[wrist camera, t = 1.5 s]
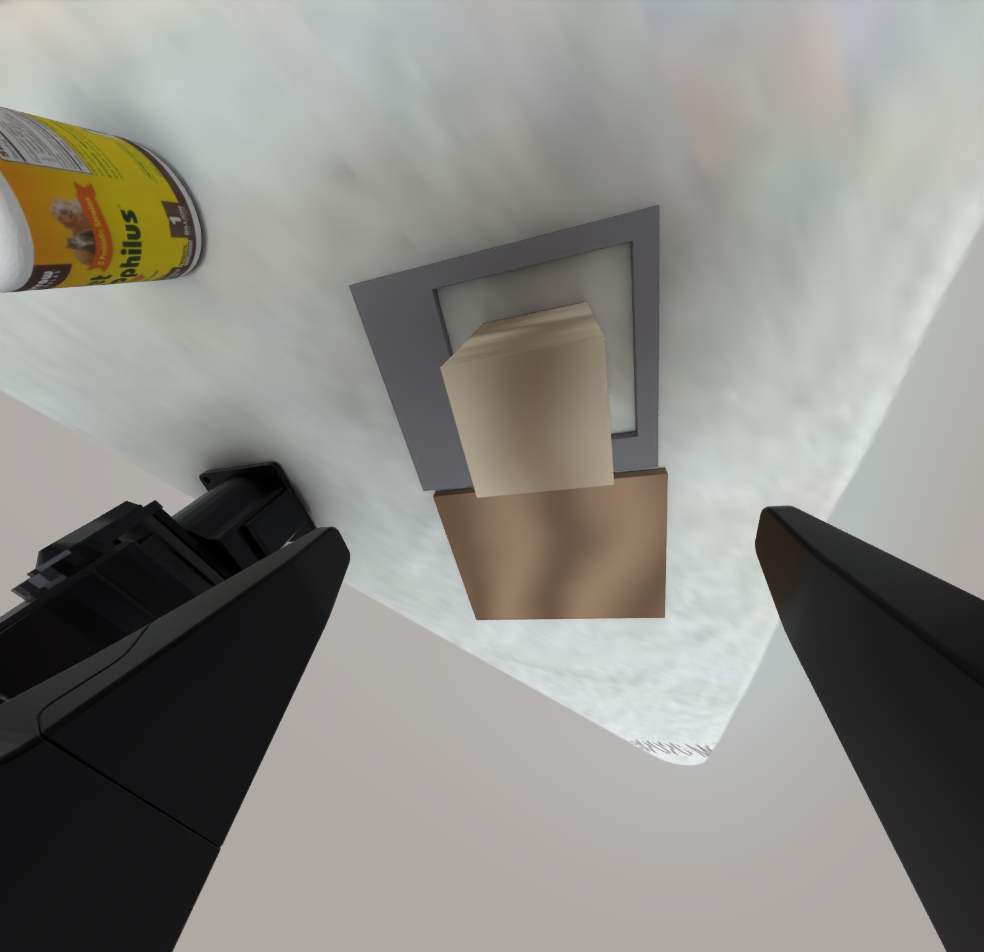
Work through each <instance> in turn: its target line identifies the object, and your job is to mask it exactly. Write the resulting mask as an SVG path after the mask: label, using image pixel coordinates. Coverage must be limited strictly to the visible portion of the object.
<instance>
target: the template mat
mask: <svg viewBox="0 0 984 952" xmlns="http://www.w3.org/2000/svg"><path fill="white" fill-rule="evenodd" d="M630 241H631V266H632V303H633V339H634V376H635V413H636V432H630V433H623V434H615V435H611V443H612V459H613V471H623V470H633V469H642V468H652V467H658V363H659V205H657V206H653V207H649V208H646V209H642V210H638V211H634V212H630V213H626V214H622V215H619V216H615V217H611V218H607V219H603V220H599V221H596V222H592V223H588V224H584V225H580V226H576V227H572V228H569V229H565V230H561V231H557V232H553V233H549V234H546V235H542V236H538V237H534V238H530V239H526V240H522V241H519V242H515V243H511V244H507V245H503V246H499V247H496V248H492V249H488V250H484V251H480V252H476V253H472V254H469V255H465V256H461V257H457V258H453V259H449V260H446V261H442V262H438V263H434V264H430V265H426V266H423V267H419V268H415V269H411V270H407V271H403V272H399V273H396V274H392V275H388V276H384V277H380V278H376V279H373V280H369V281H365V282H361V283H357V284H353V285H349V287H350V290H351V292H352V295H353V298H354V301H355V303H356V306H357V309H358V312H359V314H360V317H361V320H362V323H363V325H364V328H365V331H366V334H367V336H368V339H369V342H370V345H371V347H372V350H373V353H374V356H375V358H376V361H377V364H378V367H379V369H380V372H381V375H382V378H383V380H384V383H385V386H386V389H387V391H388V394H389V397H390V400H391V402H392V405H393V408H394V411H395V413H396V416H397V419H398V422H399V424H400V427H401V430H402V433H403V436H404V438H405V441H406V444H407V447H408V449H409V452H410V455H411V458H412V460H413V463H414V466H415V469H416V471H417V474H418V477H419V480H420V482H421V485H422V488H423V491H429V490H439V489H449V488H458V487H468V486H473V482H472V479H471V475H470V472H469V468H468V464H467V461H466V457H465V454H464V450H463V447H462V443H461V440H460V436H459V433H458V429H457V426H456V422H455V418H454V415H453V411H452V408H451V404H450V401H449V397H448V394H447V390H446V387H445V383H444V380H443V376H442V372H441V369H440V367H441V366H442V365H443V364H444V363H445V362H446V361H447V360H448V359H449V358H450V357H451V356H452V351H451V347H450V343H449V339H448V335H447V332H446V328H445V324H444V320H443V316H442V313H441V309H440V305H439V301H438V297H437V293H436V290H435V289H436V288H440V287H444V286H448V285H453V284H457V283H461V282H465V281H469V280H473V279H477V278H481V277H486V276H490V275H494V274H498V273H502V272H506V271H510V270H514V269H519V268H523V267H527V266H531V265H535V264H539V263H543V262H547V261H552V260H556V259H560V258H564V257H568V256H572V255H576V254H580V253H585V252H589V251H593V250H597V249H601V248H605V247H609V246H613V245H618V244H622V243H626V242H630Z"/></svg>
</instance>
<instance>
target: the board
mask: <svg viewBox="0 0 984 952" xmlns="http://www.w3.org/2000/svg"><path fill="white" fill-rule="evenodd" d="M613 475H614V485H606V486H596V487H585V488H575V489H564V490H554V491H543V492H533V493H522V494H512V495H501V496H490V497H480V498H477V496H476V493H475V489H474V488H466V489H456V490H447V491H437V492H435V494H434V496H433V498H434V501H435V503H436V506H437V509H438V512H439V515H440V518H441V520H442V523H443V526H444V529H445V532H446V535H447V538H448V540H449V543H450V546H451V549H452V552H453V555H454V557H455V560H456V563H457V566H458V569H459V572H460V575H461V577H462V580H463V583H464V586H465V589H466V592H467V594H468V597H469V600H470V603H471V606H472V609H473V612H474V614H475V617H476V620H517V619H595V618H665V585H666V534H667V482H668V473H667V471H666V469H665V468H662V469H652V470H643V471H633V472H623V473H613Z"/></svg>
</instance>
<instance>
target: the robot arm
mask: <svg viewBox="0 0 984 952" xmlns="http://www.w3.org/2000/svg"><path fill="white" fill-rule="evenodd" d="M272 470H273V471H272ZM199 477H200V480H201V482H202V483H203V485H204V486H205V487H206V489H207V490H208V492H206V493H205V494H204V495H202V496H201V497H199V498H198V499H196V500H195V501H194V502H192V503H191V504H189V505H188V506H186V507H185V508H184V509H182V510H181V511H179V512H178V513H177V514H175V515H173V516H172V517H171V516H170V515H169V514H168V513H166V512H165V511H164V510H163V509H162V508H163V507H162V505H160V504H159V503H158V502H157V501H156V500H155V501H153V502H151V503H149V504H148V505H146V506H144V507H143V506H142V505H137V504H134V503H131V502H128V501H126V502H124V503H122V504H120V505H119V506H117V507H115V508H113V509H112V510H110V511H108V512H107V513H105V514H103V515H102V516H100V517H98V518H97V519H95V520H93V521H91V522H89V523H88V524H86V525H84V526H82V527H81V528H79V529H77V530H75V531H73V532H72V533H70V534H68V535H66V536H65V537H63V538H61V539H59V540H58V541H56V542H54V543H52V544H51V545H49V546H47V547H46V548H44V549H42V550H41V551H39V554H38V558H37V564H36V569H34V570H33V571H31V572H29V573H28V574H27V575H28V576H30V578H29V579H27V580H26V581H24V582H23V583H21V584H19V585H18V586H16V587H15V588H13V589H12V590H11V591H12V592H14V593H15V594H17V595H18V596H20V597H21V598H23V599H24V600H25V601H24V602H23V603H21V604H19V605H18V606H16V607H15V608H13V609H12V610H10V611H9V612H7V613H6V614H4V615H3V616H1V617H0V952H173V949H174V948H175V945H176V943H177V941H178V939H179V937H180V935H181V933H182V931H183V928H184V926H185V924H186V922H187V920H188V918H189V916H190V913H191V911H192V909H193V907H194V905H195V903H196V901H197V899H198V896H199V894H200V892H201V890H202V888H203V886H204V884H205V882H206V879H207V877H208V875H209V873H210V871H211V869H212V867H213V864H214V862H215V860H216V858H217V856H218V854H219V852H220V849H221V848H220V847H221V846H222V845H223V843H224V840H225V838H226V836H227V834H228V832H229V830H230V828H231V826H232V823H233V821H234V819H235V817H236V815H237V813H238V811H239V809H240V806H241V804H242V802H243V800H244V798H245V796H246V794H247V792H248V789H249V787H250V785H251V783H252V781H253V779H254V777H255V775H256V773H257V770H258V768H259V766H260V764H261V762H262V760H263V758H264V756H265V753H266V751H267V749H268V747H269V745H270V743H271V741H272V739H273V736H274V734H275V732H276V730H277V728H278V726H279V724H280V721H281V719H282V717H283V715H284V713H285V711H286V709H287V707H288V705H289V702H290V700H291V698H292V696H293V694H294V692H295V690H296V687H297V686H298V683H299V681H300V679H301V677H302V675H303V673H304V671H305V669H306V666H307V664H308V662H309V660H310V658H311V656H312V654H313V652H314V649H315V647H316V645H317V643H318V641H319V639H320V637H321V635H322V632H323V630H324V628H325V626H326V624H327V621H328V619H329V617H330V614H331V611H332V609H333V606H334V603H335V601H336V598H337V595H338V592H339V590H340V587H341V584H342V581H343V579H344V576H345V573H346V570H347V568H348V565H349V562H350V552H349V550H348V548H347V546H346V544H345V542H344V540H343V538H342V536H341V534H340V532H339V531H338V530H337V529H336V528H335V527H320V528H317V529H315V528H314V526H313V524H312V523H311V521H310V519H309V517H308V516H307V514H306V512H305V510H304V508H303V507H302V505H301V503H300V501H299V500H298V498H297V496H296V494H295V493H294V491H293V489H292V487H291V486H290V484H289V482H288V480H287V479H286V477H285V475H284V473H283V471H282V470H281V468H280V467H279V465H277V464H276V463H274V462H269V463H261V464H254V465H247V466H240V467H232V468H225V469H218V470H211V471H206V472H204V473H202V474H201V475H200V476H199ZM292 541H294V542H292ZM287 542H292V543H290V544H289V545H287V546H285V547H284V545H285V544H286V543H287ZM755 549H756V554H757V557H758V559H759V562H760V565H761V568H762V570H763V573H764V576H765V579H766V581H767V584H768V587H769V590H770V592H771V595H772V598H773V601H774V603H775V606H776V609H777V612H778V614H779V617H780V620H781V622H782V625H783V627H784V630H785V632H786V634H787V636H788V639H789V640H790V643H791V645H792V647H793V649H794V651H795V653H796V655H797V657H798V659H799V661H800V663H801V665H802V667H803V669H804V670H805V673H806V675H807V677H808V678H809V680H810V682H811V684H812V686H813V688H814V690H815V692H816V694H817V696H818V698H819V700H820V702H821V704H822V706H823V708H824V710H825V712H826V714H827V716H828V718H829V720H830V722H831V724H832V726H833V728H834V730H835V732H836V734H837V736H838V738H839V740H840V742H841V744H842V746H843V748H844V750H845V752H846V754H847V756H848V758H849V760H850V761H851V763H852V766H853V768H854V770H855V772H856V774H857V775H858V777H859V779H860V781H861V783H862V785H863V787H864V789H865V791H866V793H867V795H868V797H869V799H870V801H871V803H872V805H873V807H874V809H875V811H876V813H877V815H878V817H879V819H880V821H881V823H882V825H883V827H884V829H885V831H886V833H887V835H888V837H889V839H890V841H891V843H892V845H893V847H894V849H895V851H896V853H897V854H898V857H899V859H900V861H901V863H902V864H903V867H904V868H905V870H906V872H907V874H908V876H909V878H910V880H911V882H912V884H913V886H914V888H915V890H916V892H917V894H918V896H919V898H920V900H921V902H922V904H923V906H924V908H925V910H926V912H927V914H928V916H929V918H930V920H931V922H932V924H933V926H934V928H935V930H936V932H937V934H938V936H939V938H940V940H941V942H942V944H943V945H944V948H945V950H946V952H984V600H982V599H980V598H978V597H976V596H974V595H972V594H970V593H968V592H966V591H964V590H962V589H960V588H958V587H955V586H954V585H952V584H949V583H948V582H946V581H943V580H941V579H939V578H937V577H935V576H933V575H931V574H929V573H927V572H925V571H923V570H921V569H919V568H917V567H915V566H913V565H911V564H909V563H907V562H905V561H903V560H901V559H899V558H897V557H895V556H893V555H891V554H889V553H887V552H884V551H882V550H881V549H879V548H877V547H875V546H873V545H870V544H868V543H866V542H864V541H862V540H860V539H858V538H856V537H854V536H852V535H850V534H848V533H846V532H844V531H842V530H840V529H838V528H836V527H834V526H832V525H830V524H828V523H826V522H824V521H822V520H820V519H818V518H816V517H814V516H812V515H810V514H808V513H806V512H804V511H802V510H800V509H797V508H795V507H793V506H768V507H766V508H764V509H763V510H762V512H761V515H760V520H759V525H758V530H757V535H756V540H755Z"/></svg>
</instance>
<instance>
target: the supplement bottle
mask: <svg viewBox="0 0 984 952" xmlns="http://www.w3.org/2000/svg"><path fill="white" fill-rule="evenodd" d="M200 251H201V229H200V224H199V220H198V216H197V213H196V210H195V208H194V205H193V203H192V201H191V199H190V197H189V195H188V193H187V192H186V190H185V188H184V187H183V185H182V184H181V182H180V181H179V180H178V178H177V177H176V176H175V175H174V173H173V172H172V171H171V170H170V169H169V168H168V166H166V165H165V164H164V163H163V162H162V161H161V160H160V159H159V158H158V157H156V156H155V155H154V154H153V153H151V152H150V151H148V150H147V149H145V148H143V147H142V146H140V145H138V144H136V143H134V142H132V141H129V140H126V139H123V138H120V137H116V136H112V135H108V134H105V133H101V132H97V131H93V130H89V129H85V128H81V127H77V126H73V125H69V124H65V123H62V122H58V121H54V120H50V119H46V118H42V117H38V116H35V115H31V114H27V113H23V112H19V111H15V110H11V109H7V108H3V107H0V292H20V291H28V290H42V289H52V288H65V287H79V286H92V285H106V284H119V283H130V282H143V281H155V280H167V279H174V278H178V277H181V276H183V275H185V274H187V273H188V272H189V271H190V270H191V269H192V268H193V267H194V266H195V264H196V263H197V261H198V258H199V255H200Z"/></svg>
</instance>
